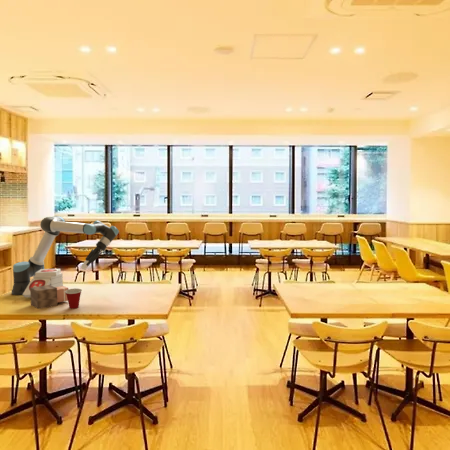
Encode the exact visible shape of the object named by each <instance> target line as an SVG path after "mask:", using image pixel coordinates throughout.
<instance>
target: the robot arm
mask: <svg viewBox="0 0 450 450" xmlns="http://www.w3.org/2000/svg"><path fill="white" fill-rule="evenodd" d="M39 225H40V226H39V227H40V228H41V230H42V231H43V232H44V233H43V234H42V237H41V239H40V241H39V243H38V245H37V248H36V250H35V251H34V253H33V256H30V257H29V259H28V261H20V262H17V263H14V264H13V265H12V275H13V285H12V289H11V295H13V296H14V295H16V296H18V295H19V296H21V295H22V296H23V293H24V291H25V290H26V288H27V286H28V284H29V283H30V281H31V278H32V277H33V276H35V273H36V272H37V271H39V270H40V269H45V262H44V260H45V259H46V257H47V254H48V252H49V251H50V249H51V246H52V244H53V243H54V241H55V239H56V237H57V236H59V235H60V233H61V232H63V233H73V234H74V233H76V234H86V235H90V236H91V235H95V234H101V235H102V236H101V237H100V239H99V241H97V243H95V248H94V249H93V248H92V249H91V250H90V251H89V253H88V255H86V257H85V261H84V262H83V263H82V265H80V268H81V269H82V270H86V269H87V268H88V267H89V266H90V265H91V264H92V263H94V262H96V260H97V259H98V258H99V257H100V256H101V255H102V254H103V251H105V250H106V249H107V247H108V246H110V244H111V243H112V242H113V241H114V240H115V238H116V237H117V236H118V234H119V232H120V231H119V229H118V228H117V227H116V226H114V225H111V226H108V225H107V224H105V223H104V222H102V221H100V220H97V219H96V220H95V221H94V222H92V223H84V222H74V221H73V222H72V221H66V220H65V219H64V218H63V216H59V215H55V216H47V217H44V218H42V219H41V221H40V224H39Z"/></svg>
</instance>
